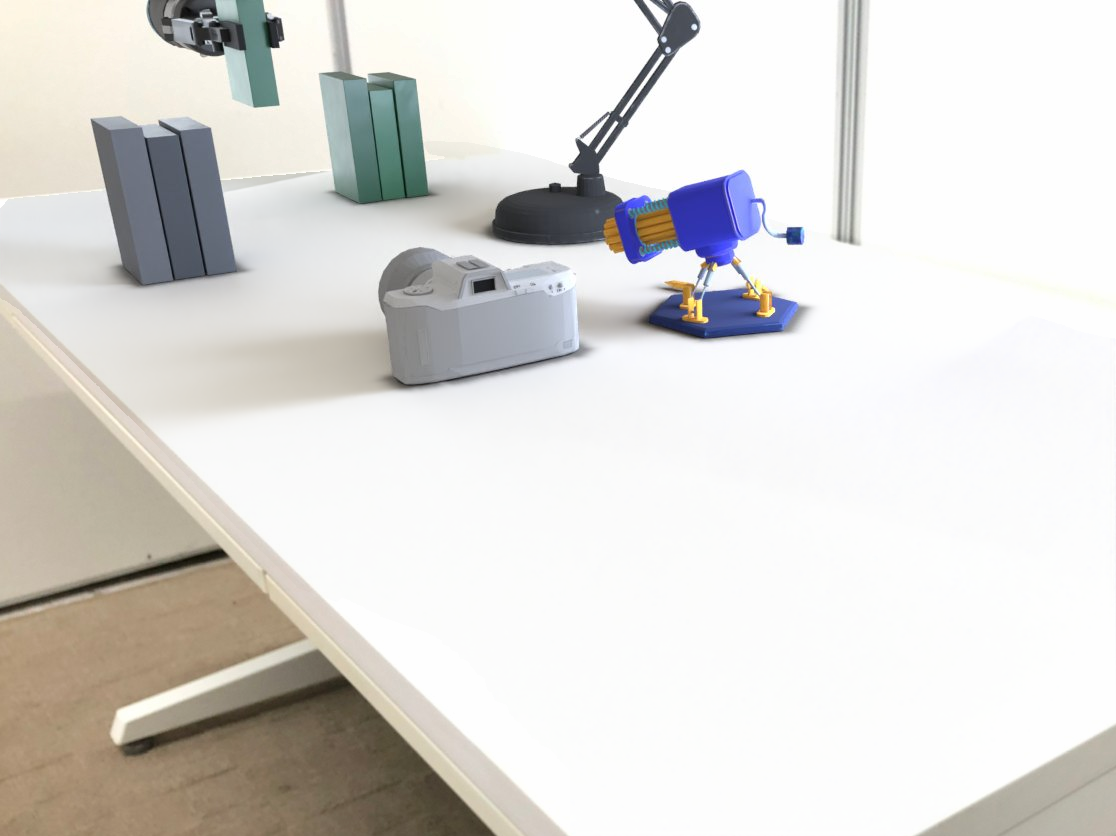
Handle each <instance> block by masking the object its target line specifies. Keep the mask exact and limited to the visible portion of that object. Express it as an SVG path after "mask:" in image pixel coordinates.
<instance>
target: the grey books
mask: <svg viewBox="0 0 1116 836" xmlns="http://www.w3.org/2000/svg"><path fill="white" fill-rule="evenodd" d="M157 121H158V124H157V123H151V124H140V125H139V124H137V123H135V122H133V121H131V120H129V119H127V118H126V117H124V116H122V115H119V116H116V115H115V116H107V117H93V118H90V124H91V129H92V132H93V137H94V141H95V147H96V150H97V155H98V159H99V164H100V169H101V174H102V178H103V183H104V187H105V191H106V192H105V193H106V196H107V200H108V205H109V210H110V214H111V219H112V224H113V228H114V232H115V237H116V242H117V246H118V250H119V255H120V259H121V264H122V268H124V269H125V270H126V271H127V272H128V273H129V274H130V275H132V277H134V278H135V279H136V280H137V282H139V283H140V284H141V285H142V286H145V285H153V284H159V283H165V282H172V281H174V280H175V281H176V280H177V281H178V280H183V279H191V278H197V277H204V276H206V275H207V276H214V275H221V274H227V273H233V272H237V271H238V269H237V263H236V258H235V252H234V248H233V247H234V246H233V242H232V235H231V231H230V225H229V220H228V214H227V208H226V203H225V196H224V192H223V186H222V181H221V175H220V169H219V165H218V159H217V152H216V148H215V142H214V141H215V140H214V137H213V136H214V135H213V130H212V127H210V126H209V125H206V124H203V123H201V122H200V121H197V120H195V119H193V118H191V117H189V116H181V117H170V118H159V119H157Z"/></svg>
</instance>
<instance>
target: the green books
mask: <svg viewBox="0 0 1116 836" xmlns="http://www.w3.org/2000/svg"><path fill="white" fill-rule="evenodd" d="M318 80H319V87H320V94H321V101H322V108H323V115H324V121H325V129H326V136H327V143H328V149H329V157H330V163H331V170H332V177H333V184H334V185H333V186H334V191H335V193H337V194H339V195H341V196H343V197H345V198H347V199H350V200H352V201H353V202H355V203H358V204H369V203H377V202H382V201H389V200H396V199H404V198H413V197H414V198H415V197H422V196H423V197H424V196H429V184H428V176H427V166H426V158H425V157H426V156H425V149H424V148H425V147H424V141H423V129H422V121H421V113H420V104H419V95H418V94H419V93H418V85H417V79H416V78H414V77H409V76H406V75H402V74H399V73H394V72H390V71H384V72H372V73H371V72H370V73H367V78H366V77H363V76H359V75H356V74H353V73H349V72H346V71H345V72H344V71H328V72H318Z"/></svg>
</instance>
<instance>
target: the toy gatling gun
mask: <svg viewBox="0 0 1116 836" xmlns="http://www.w3.org/2000/svg"><path fill="white" fill-rule="evenodd" d="M758 204H761V205H762V208H763V209H762V214H761V212H760V209H759V205H758ZM768 213H769V205H768V202H767V200H766V199H764V198H763V197H756V194H755V190H754V186H753V182H752V179H751V177H750V175H749V174H748V172H747V171H746V170H745V169H739V170H737V171H735V172H733V173H731V174H727V175H723V176H719V177H715V178H712V179H706V180H703V181H700V182H696V183H691V184H686V185H684V186H681V187H679V188H678V189H675V190H673V191H671V192H669V193H668V195H667V196H666V197H665V198H664V197H662V199H661V198H658V199H657V200H656V199H654V200H653V201H652V199H651V198H650V197H649V196H648V195H646V194H643V195H640V196H639V197H632V198H630V199H627V200H626V201H623V203H621V204H618V205H617V206H616V208H615V212H614V216H615V218H611V219H607V220H606V224H604V228H605V230H604V236H605V237H608V238H605V239H604V241H605V244H606V245H607V246H608V249H609V250H610V252H613V253H614V254H619V253H623V252H624V255H625V257H626V259H627V261H628V262H629V264H631V265H636V264H639V263H645V262H649V261H651V260H652V259H653V258H656V257H657V256H659V255H661V254H662V253H663V251H664V250H665V251H666V250H669V249H670V250H671V249H673V248H674V249H675V248H678V247H679V248H680V249H681V251H683V252H685V253H687V252H691V251H695V254H696V255H697V257H699V258H700V259H705V261H703V262H701V264H700V271H699V273H698V275H697V276H696V277H697V281H696V283H691V282H686V281H680V280H668V281H664V283H665V284H666V285H668V286H670V287H672V288H676V289H682V293H676V294H671V295H669V297H668V298H667V299H666V300H664V302H662V303H661V304H660V305H659V306H658V308H656V309H655V311H653V312H652V313H651V314H650V315H649V317H648V320H647V321H648V323H650V324H653V325H657V326H661V327H664V328H668V329H671V330H675V331H678V332H681V333H686V334H689V335H693V336H696V337H699V338H703V339H709V338H710V339H711V338H720V337H731V336H741V335H751V334H760V333H762V334H763V333H770V332H771V333H772V332H781V331H782V332H783V331H784V330H785V328H786V326H787V325H788V324H789V322H790V321H791V320H792V318H793V316H794V315H795V313H796V312H797V311H798V309H799V304H798V302H796V301H794V300H789V299H785V298H781V297H776V296H773V293H772V291H771V290H769V289H768V287H766V286H764V285H762V277H758V278H755V281H754V277H755V276H753V275H749V273H748V272H747V270H746V269H745V267H744V266H743V265H742V260H741V259H739V258H738V257H737V256H736V253H735V249H737V247H738V245H739V241H740V242H743V241H744V242H745V241H746V240H748V239H750V238H751V237H753V236H754V235H756V234H758V233H759V232H760V229H761V225H762V226H763V228H764V230H765V231H766V233H768V234H769V235H770V236H771V237H773V238H776V239H785V240H786V244H787V245H788V246H803V245H804V243H805V229H804V226H787V227H786V231H785V233H784V232H783V233H782V232H781V233H780V232H775V231H774V230H773V229H772V228H771V227H770V226H769V225H768V221H767V220H768V219H767V216H768ZM609 236H610V237H609ZM726 265H731V266H732V267H733V269H734V270H735V271H736V272H737V274H738V275H740V276H741V277H742V278H743V280H744V281H746V283H745V287H746V288H747V289H744V288H733V289H721V290H711V291H706V290H707V287H709V286H710V283H711V281H712V279H713V275H714V272H715V271H716V270H717V268H720V267H724V266H726ZM705 275H706V276H705ZM704 277H705V278H704ZM703 279H704V280H703ZM701 280H703V283H702V285H703V289H702V291H698V292H695V291H696V289H697V287H698V285H699V283H700V281H701Z"/></svg>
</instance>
